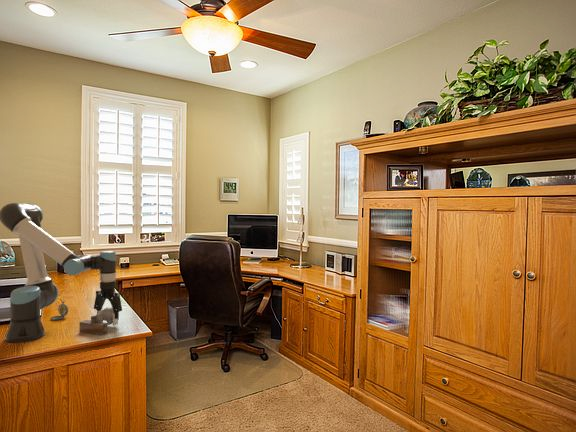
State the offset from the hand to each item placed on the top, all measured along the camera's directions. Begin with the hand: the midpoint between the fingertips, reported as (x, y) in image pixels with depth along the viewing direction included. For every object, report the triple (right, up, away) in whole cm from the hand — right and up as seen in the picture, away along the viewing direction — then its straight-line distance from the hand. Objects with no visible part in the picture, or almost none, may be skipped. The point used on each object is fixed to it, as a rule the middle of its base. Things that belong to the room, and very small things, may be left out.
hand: (107, 323), depth 195 cm
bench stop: (-3, -2, -8) cm, 9 cm away
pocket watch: (-33, -1, +14) cm, 36 cm away
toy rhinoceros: (-1, 0, 0) cm, 1 cm away
